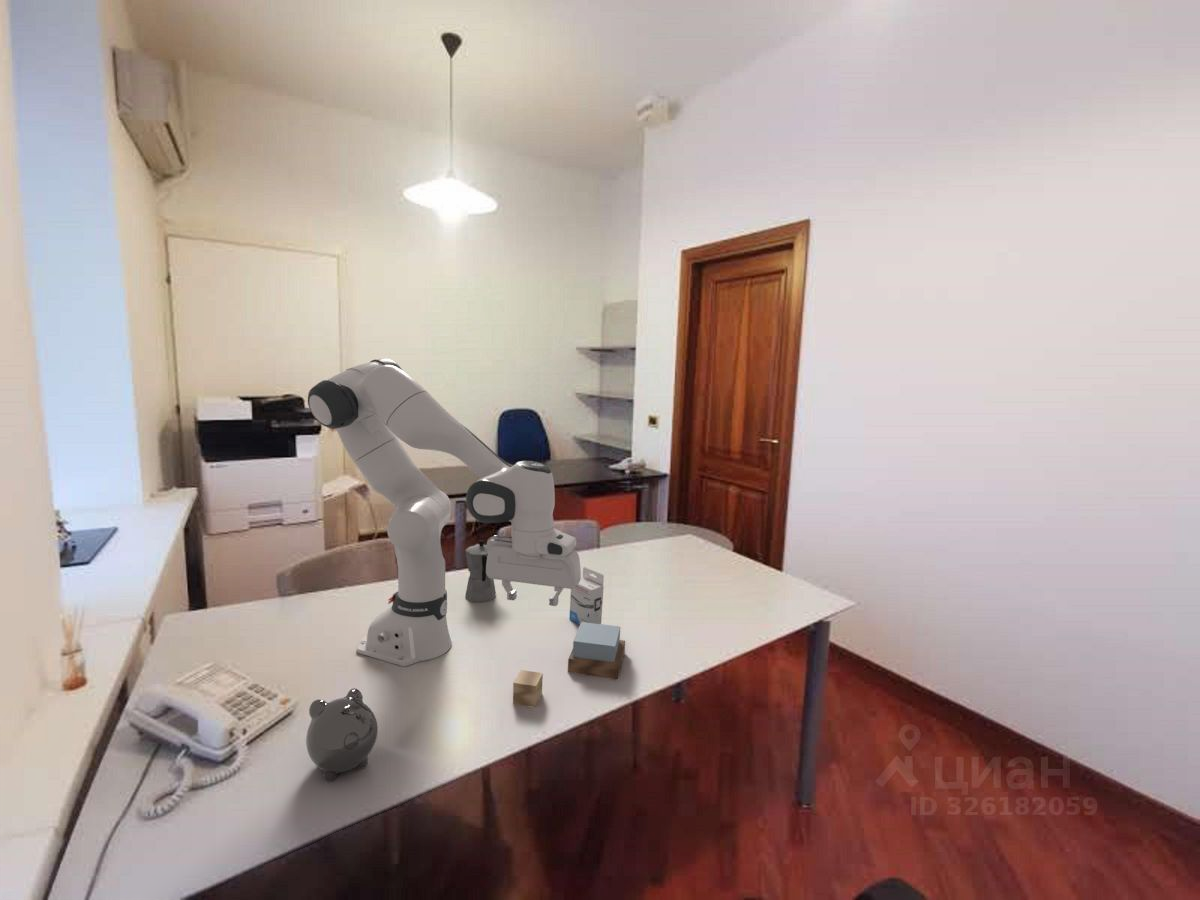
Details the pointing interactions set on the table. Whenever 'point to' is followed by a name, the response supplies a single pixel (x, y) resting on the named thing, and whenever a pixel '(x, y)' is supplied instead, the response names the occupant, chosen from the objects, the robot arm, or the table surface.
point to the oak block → (527, 688)
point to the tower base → (597, 665)
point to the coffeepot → (479, 574)
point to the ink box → (587, 598)
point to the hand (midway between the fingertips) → (532, 601)
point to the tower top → (596, 642)
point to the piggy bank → (341, 734)
